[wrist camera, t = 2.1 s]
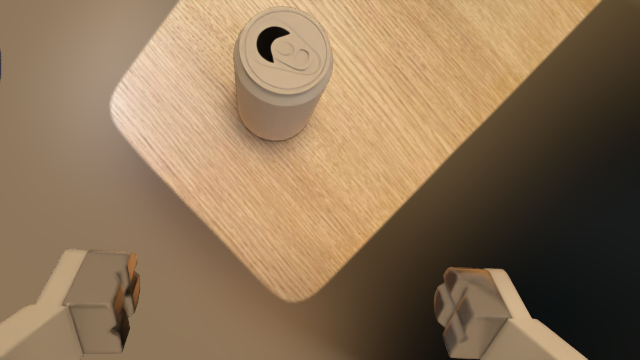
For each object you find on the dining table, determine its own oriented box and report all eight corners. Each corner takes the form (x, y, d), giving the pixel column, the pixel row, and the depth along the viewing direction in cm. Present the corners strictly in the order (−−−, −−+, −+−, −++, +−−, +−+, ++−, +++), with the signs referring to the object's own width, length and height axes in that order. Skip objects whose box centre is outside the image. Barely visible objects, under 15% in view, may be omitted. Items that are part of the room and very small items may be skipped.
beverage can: (259, 59, 38) (263, -20, 26) (322, 94, 39) (354, 32, 27) (224, 121, 37) (212, 66, 25) (290, 155, 37) (309, 118, 26)
